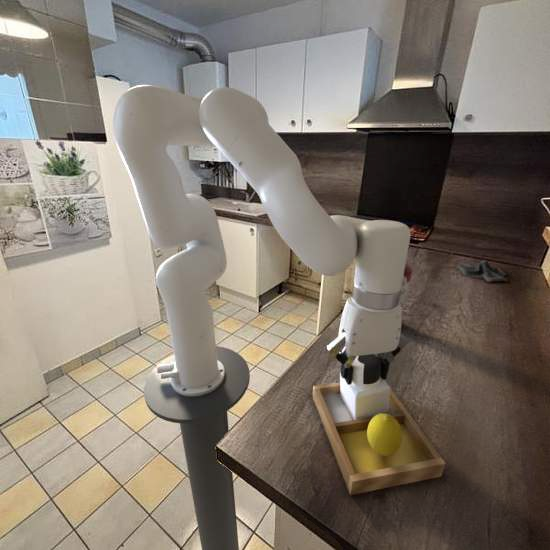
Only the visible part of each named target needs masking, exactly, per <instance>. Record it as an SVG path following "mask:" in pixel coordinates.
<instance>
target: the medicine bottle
mask: <svg viewBox="0 0 550 550" xmlns="http://www.w3.org/2000/svg"><path fill="white" fill-rule="evenodd" d="M352 367H353V377H352V384H350V385H348V384H347V383H346V381H345V379H344V378H342V376H341V373H340V372H339V382H340V396H341V398H342V400H343V401H344V403H345V405H346V407H347V409H348V410H349V412H350V414H351V416H352V418H353V419H354V420H357V419H363V418H369V417H374V416H376V415H378V414H388V409H389V397H390V388H391V386H390V385H389V384H388V383H387V381H386V379H385V380H383V379H381V361H380V359H379V358H378V357H377V355H376V354H369V355H360V356H357V357H356V358H355V360H354V362H353V363H352ZM385 381H386V382H385Z"/></svg>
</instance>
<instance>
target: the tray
mask: <svg viewBox="0 0 550 550" xmlns="http://www.w3.org/2000/svg"><path fill="white" fill-rule="evenodd" d="M385 382H386V383H387V381H386V380H385ZM312 400H313V402H314V405H315V407H316V410H317V413H318V415H319V418H320V421H321V424H322V426H323V428H324V432H325V434H326V437H327V439H328V442H329V445H330V446H331V449H332V452H333V454H334V457H335V460H336V463H337V465H338V467H339V470H340V472H341V474H342V477H343V481H344V482H345V485H346V489H347V490H348V494H349V496H354V495H358V494H359V495H360V494H363V493H369V492H373V491H377V490H383V489H388V488H392V487H397V486H402V485H407V484H411V483H417V482H422V481H426V480H427V481H428V480H432V479H436V478H441V477H442V475H443V472H444V469H445V466H446V462H445V460H444V459H443V457H442V456H441V455H440V454H439V452H438V451H437V450H436V448H435V447H434V445H433V444H432V443H431V441H430V440H429V438H428V437H427V436H426V434H425V433H424V432H423V430H422V429H421V427H420V426H419V424H417V422H416V421H415V419H414V418H413V417H412V415H411V414H410V413H409V411H408V409H406V407H405V406H404V404H403V403H402V401H400V399H399V398H398V396H397V395H396V393H395V392H394V391H393V389H392V388H391V387H390V397H389V409H388V415H390V416H392V417H394V418H395V419H396V420H397V422H398V423H399V425H400V427H401V431H402V442H401V445H400V448H399V449H398V450H397V452H396V453H394V454H393V455H389V456H384V455H380V454H378V453H377V452H375V451H374V450H373V449H372V447H371V446H370V444H369V441H368V438H367V429H368V425H369V423H370V421H371V419H372V418H373V417H369V418H363V419H357V420H354V419H353V418H352V416H351V414H350V412H349V410H348V409H347V407H346V405H345V403H344V401H343V400H342V398H341V396H340V381H337V382H332V383H331V382H330V383H324V384H317V385H312Z"/></svg>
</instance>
